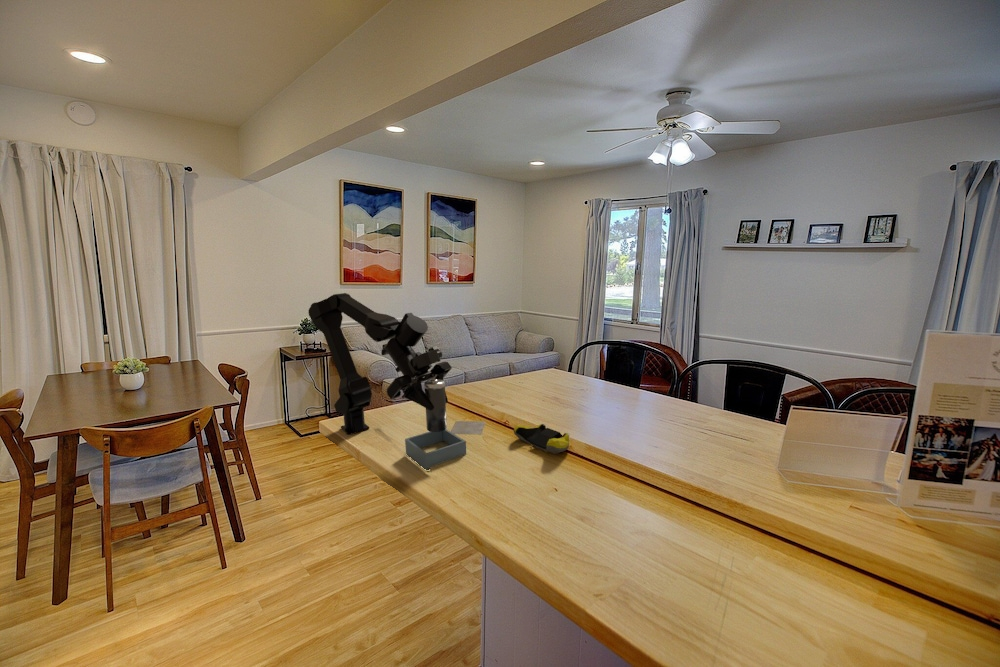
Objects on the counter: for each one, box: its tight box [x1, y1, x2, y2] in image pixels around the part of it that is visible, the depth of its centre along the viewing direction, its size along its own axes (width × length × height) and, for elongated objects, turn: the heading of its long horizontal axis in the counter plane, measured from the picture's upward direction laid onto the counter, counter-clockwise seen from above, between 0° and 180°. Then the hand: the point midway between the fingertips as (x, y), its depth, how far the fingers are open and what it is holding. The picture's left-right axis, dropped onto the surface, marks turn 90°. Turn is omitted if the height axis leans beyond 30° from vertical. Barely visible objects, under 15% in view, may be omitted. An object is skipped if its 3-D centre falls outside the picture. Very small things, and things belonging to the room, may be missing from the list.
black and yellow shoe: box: [513, 423, 570, 455], centre depth 115 cm, size 15×6×10 cm
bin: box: [404, 428, 467, 470], centre depth 111 cm, size 11×11×4 cm
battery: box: [423, 379, 448, 432], centre depth 110 cm, size 5×5×13 cm
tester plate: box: [450, 420, 487, 435], centre depth 127 cm, size 9×9×1 cm
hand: (439, 406), depth 109 cm, fingers closed on battery, 5 cm apart
